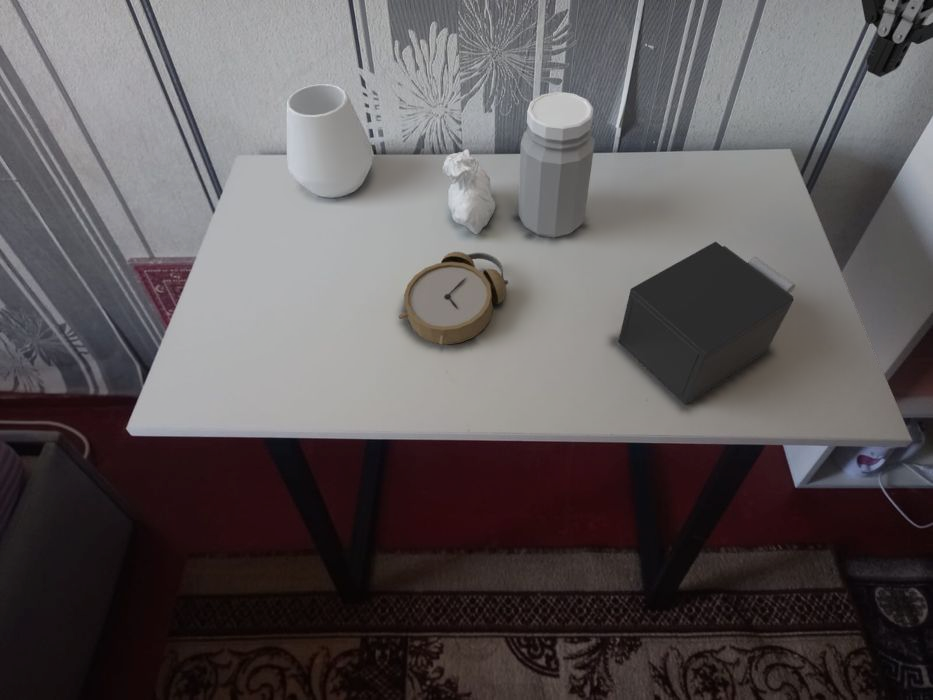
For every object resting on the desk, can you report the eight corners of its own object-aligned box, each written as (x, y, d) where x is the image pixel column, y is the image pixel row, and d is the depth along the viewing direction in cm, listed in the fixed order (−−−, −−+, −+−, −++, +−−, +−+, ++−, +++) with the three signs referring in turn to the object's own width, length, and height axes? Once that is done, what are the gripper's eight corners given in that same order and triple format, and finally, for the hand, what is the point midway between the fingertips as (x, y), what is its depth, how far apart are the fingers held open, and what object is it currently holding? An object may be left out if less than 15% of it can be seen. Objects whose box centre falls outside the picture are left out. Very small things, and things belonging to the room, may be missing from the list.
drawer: (731, 276, 87) (749, 231, 81) (795, 324, 81) (819, 281, 75) (636, 331, 82) (647, 288, 75) (697, 388, 76) (715, 346, 70)
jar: (588, 240, 93) (604, 129, 79) (519, 242, 94) (523, 132, 80) (580, 197, 99) (594, 86, 85) (516, 198, 100) (519, 89, 86)
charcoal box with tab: (696, 295, 86) (715, 241, 79) (766, 352, 80) (794, 299, 72) (618, 341, 82) (630, 288, 74) (685, 405, 76) (706, 354, 68)
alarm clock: (384, 304, 83) (458, 226, 88) (393, 324, 87) (463, 249, 92) (451, 346, 78) (525, 262, 83) (457, 366, 83) (527, 285, 87)
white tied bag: (476, 201, 103) (429, 149, 97) (515, 179, 99) (468, 124, 93) (463, 253, 96) (411, 200, 90) (504, 232, 91) (452, 176, 85)
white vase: (276, 183, 104) (250, 103, 93) (339, 144, 110) (322, 65, 99) (331, 218, 98) (310, 137, 88) (395, 175, 104) (383, 95, 93)
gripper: (1079, -113, 53) (959, 87, 66) (927, -152, 60) (847, 37, 73) (1026, -92, 50) (913, 112, 64) (875, -134, 57) (802, 57, 71)
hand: (878, 71), depth 69 cm, fingers closed
